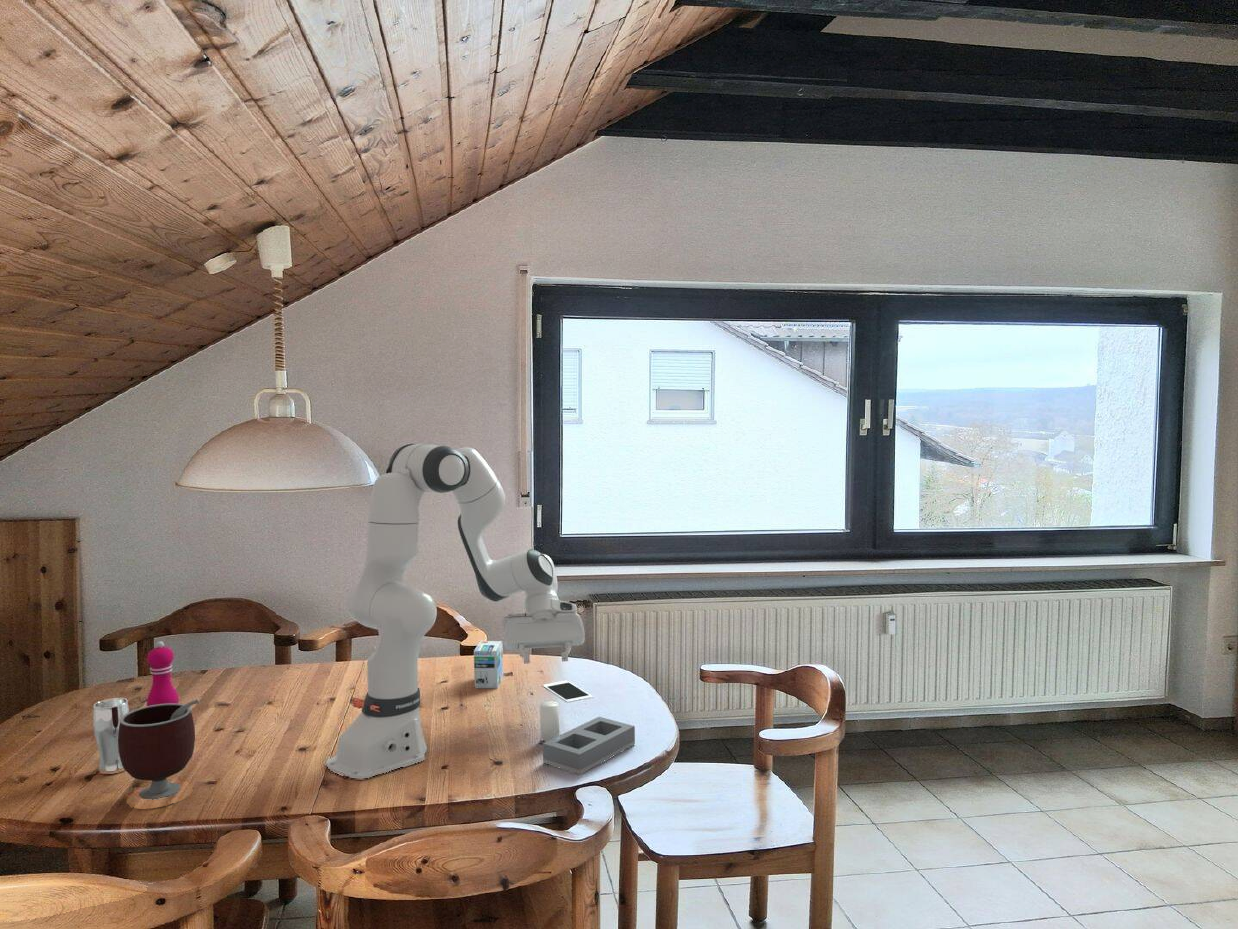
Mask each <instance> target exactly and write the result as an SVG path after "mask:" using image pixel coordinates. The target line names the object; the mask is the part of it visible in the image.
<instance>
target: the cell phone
mask: <svg viewBox="0 0 1238 929" xmlns="http://www.w3.org/2000/svg"><path fill="white" fill-rule="evenodd" d="M542 687H543V688H545V689H546V688H547V690H548V691H549V692H551V693H553V694H554V695H555V696H557V697H558V698H560V700H563V701H564V700H565V701H564V702H566V703H572V702H571V701H573V702H576V701H575V700H578V701H580V700H579V699H583V700H588V699H591V698H590V697H592V698H593V695H592V694H591V693H588V692H586V691H585V690H584V689H582V688H580V687H579V688H577V687H578V686H577V685H576V684H574V683H572V682H570V681H569V680H563V681H555V682H550V683H546V684H542ZM587 698H588V699H587Z"/></svg>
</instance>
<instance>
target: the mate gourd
mask: <svg viewBox="0 0 1238 929" xmlns="http://www.w3.org/2000/svg"><path fill="white" fill-rule="evenodd" d="M198 703H199V699H193V700H191V701H189V702H186V703H185V704H184V703H178V704H177V703H169V704H158V705H151V706H147V705H146V706H143V707H139V708H136V709H133V710H131V711H130V710H129V712H128V713H126V714H125V715H123V716H122V717H121V718H120V726H119V733H118V751H119V756H120V760H121V763H122V766H123V768H124V770H125V771H124V772H127V774H129V775H130V777H132V778H133V779H136V780H138V781H139V780H140V781H151V783H150V784H151V786H150V787H147V788H145V789H143V790H142V791H141V792H140V793H139V796H140V797H141V798H143V799H152V800H153V799H158V798H163V797H169V796H171V795H173V794H175V793H176V792H178V791H179V790H180V785H179V784H176V783H169V782H168V780H169V779H168V778H169V777H172V776H174V775H176V774H178V773H180V772H181V771H183V770H184V769H185V768H186V767H187V765H188V763H189V762H190V761H191V759H192V758H193V754H194V752H195V751H194V750H195V745H196V744H195V742H196V731H195V729H196V727H195V723H194V718H193V714H192V709H191V706H193V705H197V704H198Z"/></svg>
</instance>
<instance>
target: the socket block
mask: <svg viewBox="0 0 1238 929" xmlns="http://www.w3.org/2000/svg"><path fill="white" fill-rule="evenodd" d="M635 728H636V727H635V725H631V724H629V723H624V722H620V721H616V720H613V719H610V718H609V719H608V718H605V717H603V716H597V717H595V718H593V719H591V720H589V721H588V722H584V723H583V724H581V725H578V726H576V727H574V728H572V729H570V730H568V731H565V732H564V733H562V734H559V736H557V737H555V738H553V739H551V740H549V741H547V742H546V741H544V742H542V764H544V763H546V764H545V765H547V764H549V765H548V766H550V765H552V766H551V767H554V766H555V767H554V768H557V767H560V768H562V769H561V770H563V769H565V770H564V771H566V770H568V771H567V772H569V771H571V772H570V773H573V774H576V773H578V774H577V775H579V774H581V775H582V773H583V774H585V773H586V772H588V771H590V770H591V769H590V768H592V767H594V768H595V767H597V766H599V765H600V764H599V763H601V762H603V761H604V760H606V761H608V760H610V759H611V758H610V757H612V756H613V755H615V754H617V755H619V754H621V753H622V752H621V751H623V750H625V749H626V748H628V749H630V748H632V747H634V746H635V745H636V737H635V736H636V729H635ZM634 744H635V745H634ZM633 745H634V746H633ZM631 746H632V747H631ZM625 751H626V750H625ZM620 752H621V753H620ZM623 752H624V751H623ZM618 753H619V754H618ZM609 758H610V759H609ZM612 758H613V757H612ZM607 759H608V760H607ZM603 763H604V762H603ZM598 764H599V765H598ZM601 764H602V763H601ZM596 765H597V766H596ZM560 768H559V769H560ZM589 769H590V770H589ZM592 769H593V768H592ZM587 770H588V771H587Z"/></svg>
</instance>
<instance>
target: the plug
mask: <svg viewBox="0 0 1238 929" xmlns="http://www.w3.org/2000/svg"><path fill="white" fill-rule="evenodd" d="M539 722H540V723H539V728H540V731H539V733H540V734H539V735H540V736H539V737H540V739H541V740H543V742H547V741H549V740H551V739H553V738H555V737H557V736H559V735H560V704H559V702H557V701H553V700H551V701H550V700H549V701H548V700H547V701H542V702H541V703H540V704H539Z"/></svg>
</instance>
